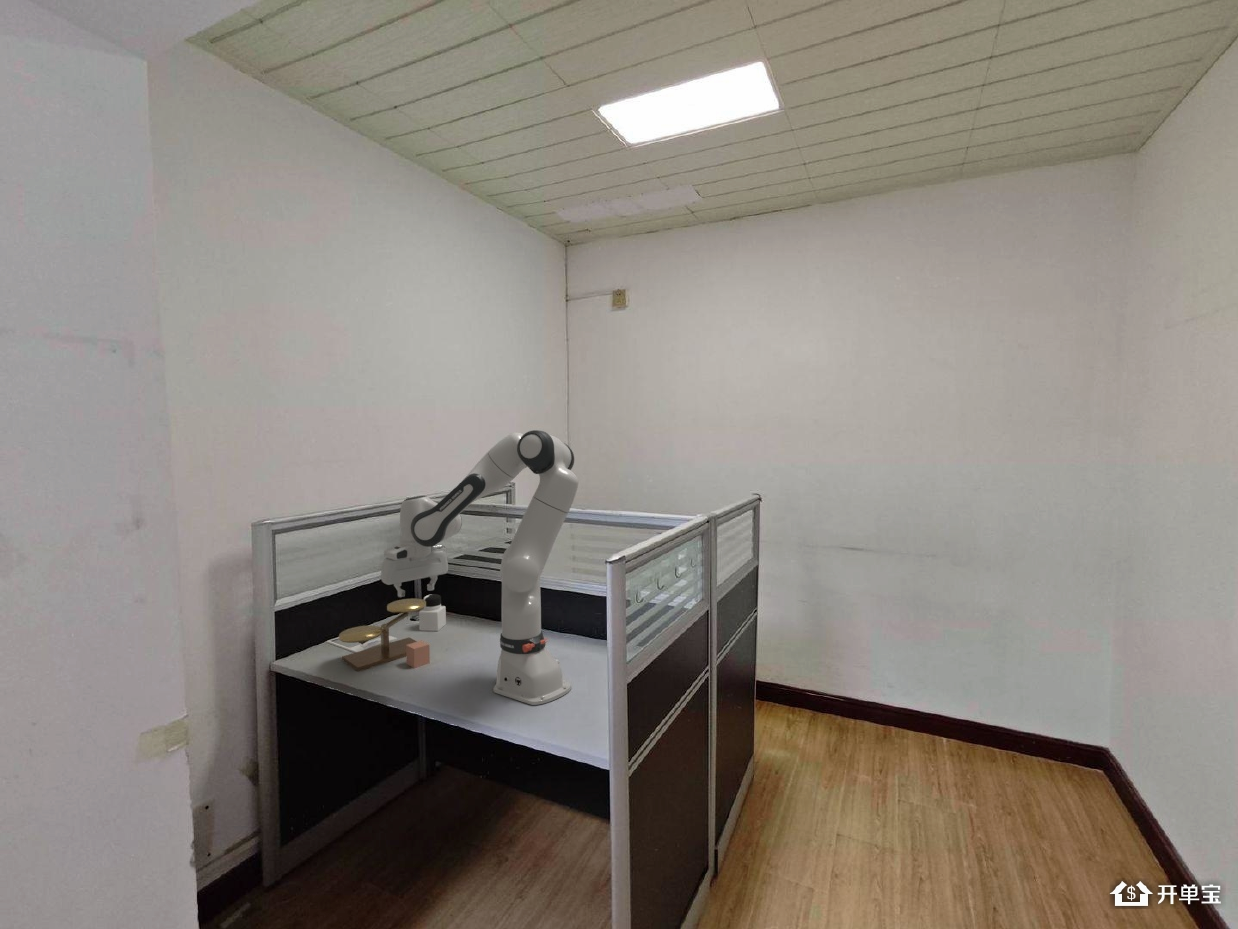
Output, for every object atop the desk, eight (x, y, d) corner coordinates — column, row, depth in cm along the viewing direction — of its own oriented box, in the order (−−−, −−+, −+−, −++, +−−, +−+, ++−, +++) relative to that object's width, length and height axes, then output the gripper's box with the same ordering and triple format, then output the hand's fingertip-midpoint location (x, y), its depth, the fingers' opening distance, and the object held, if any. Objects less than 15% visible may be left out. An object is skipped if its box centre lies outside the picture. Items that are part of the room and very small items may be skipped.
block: (429, 663, 169) (429, 644, 168) (414, 668, 165) (414, 649, 165) (421, 659, 172) (421, 640, 172) (406, 664, 168) (406, 644, 168)
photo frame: (357, 651, 176) (326, 640, 186) (357, 655, 176) (326, 643, 186) (396, 637, 189) (366, 627, 198) (397, 640, 189) (366, 630, 198)
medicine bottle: (446, 624, 203) (445, 593, 203) (438, 631, 196) (437, 598, 196) (427, 624, 204) (427, 592, 203) (419, 630, 197) (418, 598, 196)
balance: (433, 647, 181) (432, 603, 180) (349, 674, 161) (347, 624, 160) (416, 638, 189) (415, 596, 188) (333, 662, 169) (332, 615, 169)
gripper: (441, 542, 177) (442, 584, 177) (378, 552, 162) (379, 598, 162) (451, 545, 172) (452, 588, 173) (387, 555, 157) (388, 602, 158)
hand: (416, 593), depth 167 cm, fingers open, 8 cm apart
